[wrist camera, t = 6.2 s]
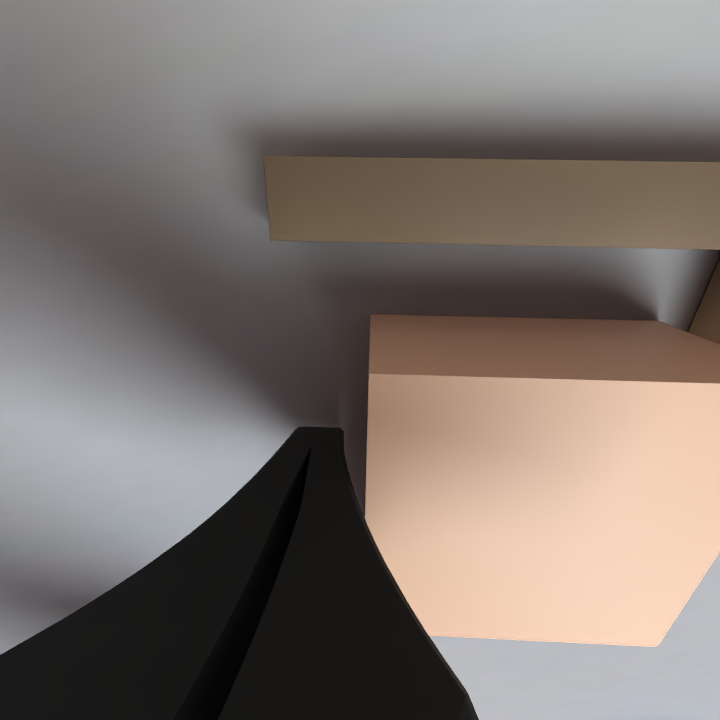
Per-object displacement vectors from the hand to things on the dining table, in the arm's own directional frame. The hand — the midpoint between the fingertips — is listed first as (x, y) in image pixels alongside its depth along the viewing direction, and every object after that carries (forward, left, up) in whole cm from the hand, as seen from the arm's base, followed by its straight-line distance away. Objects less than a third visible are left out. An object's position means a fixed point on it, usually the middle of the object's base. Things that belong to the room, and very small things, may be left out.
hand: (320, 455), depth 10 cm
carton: (0, -5, -2) cm, 6 cm away
